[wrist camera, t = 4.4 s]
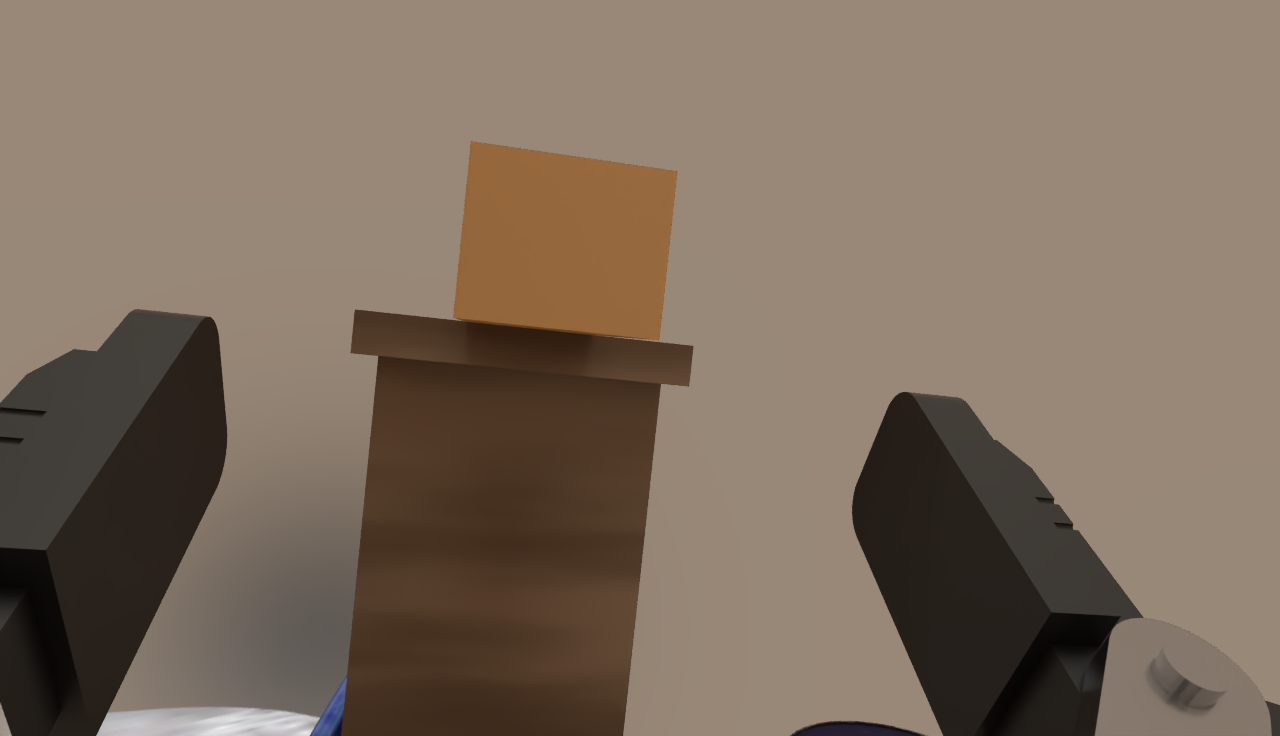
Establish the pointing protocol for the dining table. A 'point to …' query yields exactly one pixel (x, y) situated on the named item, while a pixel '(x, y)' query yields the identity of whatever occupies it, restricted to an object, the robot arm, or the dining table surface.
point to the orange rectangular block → (564, 243)
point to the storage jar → (853, 729)
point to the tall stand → (501, 527)
